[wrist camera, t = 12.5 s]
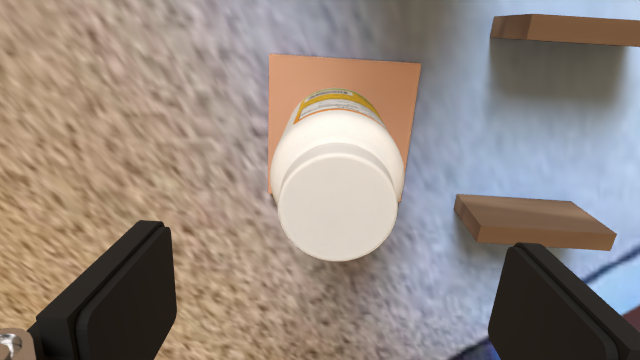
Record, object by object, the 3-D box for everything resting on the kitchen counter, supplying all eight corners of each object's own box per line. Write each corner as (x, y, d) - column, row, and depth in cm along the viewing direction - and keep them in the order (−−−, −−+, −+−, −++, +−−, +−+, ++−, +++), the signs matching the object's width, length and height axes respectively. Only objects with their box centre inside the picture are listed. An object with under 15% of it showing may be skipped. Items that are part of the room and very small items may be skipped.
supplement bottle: (339, 196, 23) (344, 305, 14) (268, 139, 22) (223, 219, 13) (402, 129, 21) (456, 205, 12) (330, 64, 20) (329, 95, 11)
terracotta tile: (398, 197, 23) (400, 201, 23) (269, 189, 23) (268, 193, 23) (418, 63, 20) (421, 63, 20) (270, 53, 21) (269, 54, 20)
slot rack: (566, 216, 24) (610, 250, 20) (453, 208, 24) (476, 242, 20) (630, 25, 20) (700, 24, 16) (494, 16, 20) (532, 13, 16)
